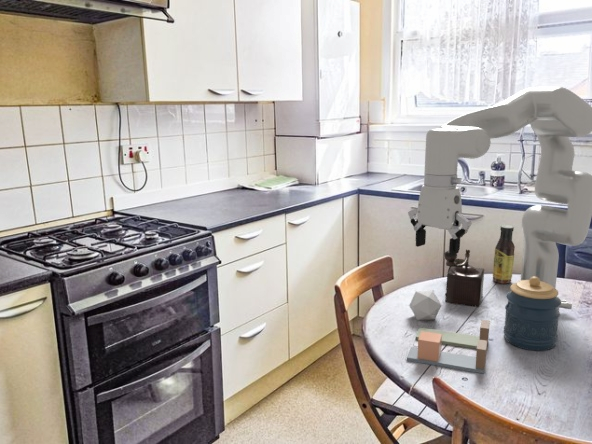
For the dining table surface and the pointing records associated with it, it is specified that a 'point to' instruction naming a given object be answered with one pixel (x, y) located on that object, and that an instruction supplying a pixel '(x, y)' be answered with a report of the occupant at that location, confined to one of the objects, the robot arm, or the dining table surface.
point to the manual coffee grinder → (463, 282)
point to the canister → (532, 315)
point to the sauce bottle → (504, 256)
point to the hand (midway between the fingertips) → (436, 249)
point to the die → (425, 305)
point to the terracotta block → (429, 346)
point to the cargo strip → (456, 359)
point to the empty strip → (461, 336)
